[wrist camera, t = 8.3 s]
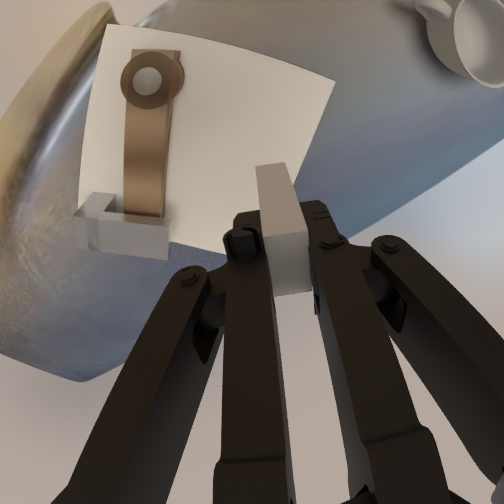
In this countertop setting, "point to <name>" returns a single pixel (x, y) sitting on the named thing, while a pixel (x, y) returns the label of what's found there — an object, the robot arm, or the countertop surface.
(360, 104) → the countertop surface
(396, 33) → the countertop surface
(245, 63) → the base board
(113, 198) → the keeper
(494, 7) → the teacup
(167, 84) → the latch
